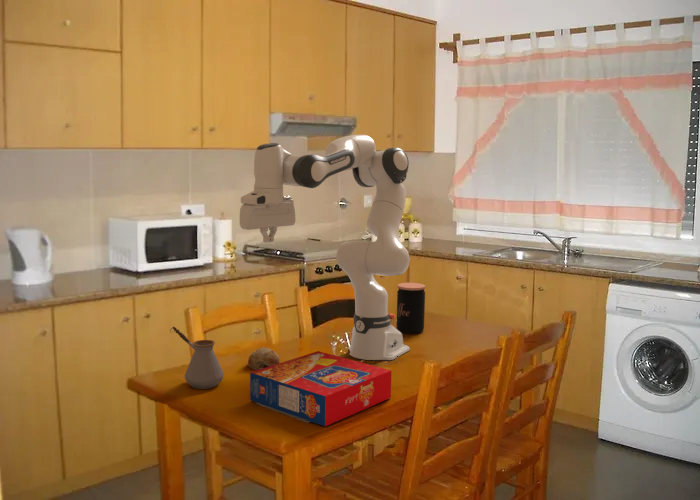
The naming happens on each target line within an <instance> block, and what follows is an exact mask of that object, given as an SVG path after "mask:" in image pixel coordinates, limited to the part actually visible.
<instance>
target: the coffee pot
mask: <svg viewBox="0 0 700 500" xmlns="http://www.w3.org/2000/svg"><path fill="white" fill-rule="evenodd" d="M172 330H173V333H176V334H177V335H178V336H179V338H180V339H182V340H183V341H184V342H185V343H187V344H188V345H189V346H190V347H191V348H192V349H193V350H194V351H193V354H192V357H191V359H190V361H189V364H188V367H187V369H186V370H185V373H184V379H185V381H186V383H188V385H190V386H191V387H192V388H194V389H199V390H202V389H203V390H206V389H212V388H215V387H217V386H218V385H219V383H221V381H223V379H224V376H225V374H224V371H223V369H222V367H221V364H220V361H219V360H218V358H217V355H216V353H215V352H214V345H215V344H216V342H215V340H211V339H199V340H196V341H193V342H191V340H190V339H189V338H188V337H187V336H186V335H185V334H184V333H183V332H181V331H180V329H177V327H175V326H172V328H170V330H169V331H170V333H172Z"/></svg>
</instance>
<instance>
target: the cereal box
mask: <svg viewBox="0 0 700 500" xmlns="http://www.w3.org/2000/svg"><path fill="white" fill-rule="evenodd" d="M249 387H250V388H249V392H250V393H249V394H250V396H249V397H250V398H249V399H250V401H251V402H254V403H256V402H257V403H260V404H263V405H266V406H269V407H272V408H274V409H277V410H280V411H283V412H286V413H289V414H291V415H294V416H297V417H300V418H303V419H306V420H309V421H311V422H312V423H314V424H317V425H320V426H323V427H327V426H329V425H332V424H334V423H336V422H338V421H341V420H343V419H345V418H348V417H350V416H352V415H355V414H357V413H359V412H362V411H364V410H366V409H369V408H370V407H373V406H375V405H377V404H379V403H382V402H384V401H387V400H389V399H391V397H392V370H391V369H387V368H383V367H380V366H376V365H372V364H370V363H369V364H368V363H364V362H361V361H356V360H354V359H349V358H346V357H343V356H338V355H334V354H330V353H327V352H323V351H320V350H317V351H314V352H311V353H307V354H305V355H302V356H298V357H296V358H291V359H289V360H286V361H282V362H279V364H276V365H272V366H269V367H266V368H263V369H260V370H253V371H250V372H249ZM311 422H310V423H311Z"/></svg>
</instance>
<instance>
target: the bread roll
mask: <svg viewBox="0 0 700 500" xmlns="http://www.w3.org/2000/svg"><path fill="white" fill-rule="evenodd" d="M279 363H281V362H280V356H279V354H278V353H277V352H275V351H274V350H273V349H271V348H270V347H265V346H264V347H260V348H258V349H256V350H255V351H252V352H251V354H250V355H249V356H248V362H247V364H248V367H250V368H251V369H253V371H256V370H260V369H263V368H266V367H269V366H272V365H276V364H279Z"/></svg>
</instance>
